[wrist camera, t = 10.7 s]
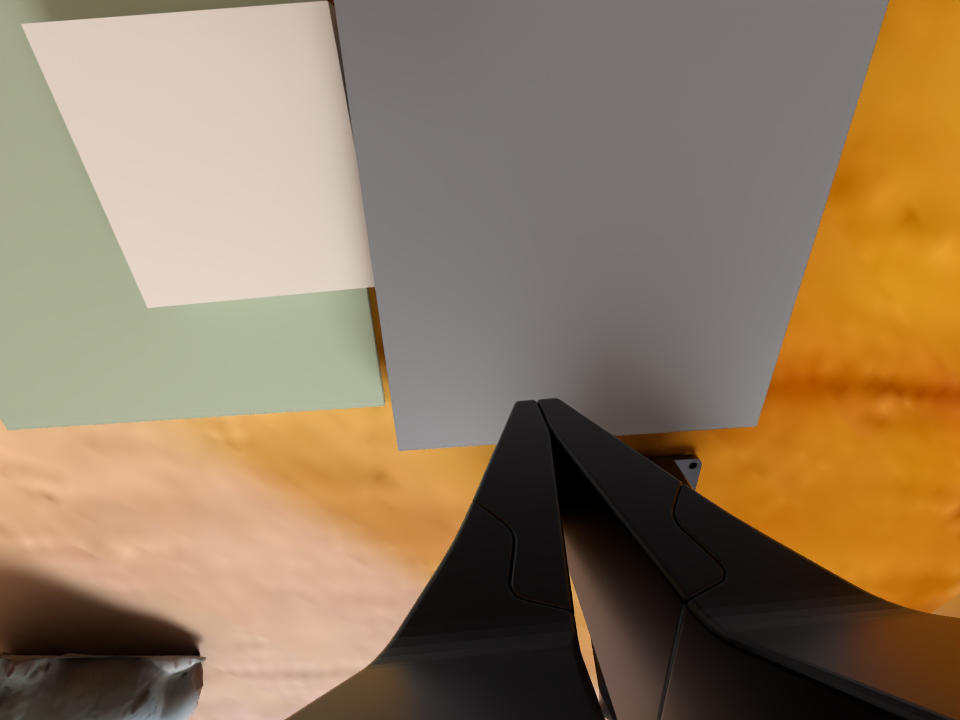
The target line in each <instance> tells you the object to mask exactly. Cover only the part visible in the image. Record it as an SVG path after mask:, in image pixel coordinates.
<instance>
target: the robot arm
mask: <svg viewBox="0 0 960 720" xmlns="http://www.w3.org/2000/svg"><path fill="white" fill-rule="evenodd" d="M691 463H692V464H691ZM701 465H702V463H701V461H700V460H699V458H698V457H697V456H696V455H693V454H689V455H675V456H661V457H647V458H646V457H644V456H643V455H641V454H640V453H638V452H637V451H635V450H634V449H632V448H631V447H629V446H628V445H626V444H625V443H624V442H622V441H621V440H619V439H618V438H616V437H615V436H613V435H612V434H610V433H609V432H607V431H606V430H604V429H603V428H601V427H600V426H599V425H597V424H596V423H594V422H593V421H591V420H590V419H588V418H587V417H585V416H584V415H582V414H581V413H579V412H578V411H576V410H575V409H573V408H572V407H571V406H569V405H568V404H566V403H565V402H563V401H562V400H560V399H558V398H548V399H540V400H538V401H537V402H536V401H535V400H523V401H517V402H515V404H514V406H513V408H512V411H511V413H510V415H509V418H508V420H507V422H506V425H505V427H504V429H503V432H502V434H501V436H500V438H499V441H498V443H497V445H496V448H495V450H494V452H493V455H492V457H491V459H490V462H489V464H488V466H487V469H486V471H485V473H484V475H483V478H482V480H481V482H480V485H479V487H478V489H477V492H476V494H475V496H474V499H473V502H472V503H471V505H470V507H469V510H468V512H467V514H466V516H465V519H464V521H463V523H462V525H461V527H460V529H459V531H458V533H457V535H456V537H455V539H454V541H453V543H452V544H451V546H450V548H449V550H448V551H447V553H446V555H445V556H444V558H443V560H442V561H441V563H440V565H439V566H438V568H437V570H436V571H435V573H434V574H433V576H432V577H431V579H430V581H429V582H428V584H427V585H426V587H425V588H424V590H423V592H422V593H421V595H420V596H419V598H418V599H417V601H416V603H415V604H414V606H413V607H412V609H411V610H410V612H409V614H408V615H407V617H406V618H405V620H404V621H403V623H402V624H401V626H400V628H399V629H398V631H397V632H396V634H395V635H394V637H393V638H392V640H391V641H390V642H389V644H388V645H387V646H386V647H385V649H384V650H383V651H382V652H381V653H380V654H379V655H378V656H377V657H376V659H375V660H374V661H372V662H371V663H370V664H369V665H368V666H367V667H366V668H364V669H363V670H361V671H360V672H358V673H357V674H355V675H354V676H352V677H350V678H349V679H347V680H346V681H344V682H343V683H341V684H340V685H338V686H336V687H335V688H333V689H332V690H330V691H329V692H327V693H326V694H324V695H322V696H321V697H319V698H318V699H316V700H315V701H313V702H311V703H310V704H308V705H307V706H305V707H304V708H302V709H301V710H299V711H297V712H296V713H294V714H293V715H291V716H290V717H288V718H287V719H285V720H605V718H606V719H608V720H960V618H955V617H948V616H941V615H935V614H930V613H925V612H921V611H917V610H913V609H909V608H906V607H903V606H900V605H897V604H894V603H892V602H889V601H886V600H884V599H882V598H879V597H877V596H875V595H872V594H870V593H868V592H867V591H865V590H863V589H861V588H859V587H857V586H855V585H853V584H851V583H850V582H848V581H846V580H844V579H843V578H841V577H839V576H837V575H836V574H834V573H832V572H830V571H829V570H827V569H825V568H823V567H822V566H820V565H818V564H816V563H814V562H813V561H811V560H809V559H807V558H806V557H804V556H802V555H800V554H799V553H797V552H795V551H793V550H792V549H790V548H788V547H786V546H784V545H783V544H781V543H779V542H777V541H776V540H774V539H772V538H770V537H769V536H767V535H765V534H763V533H762V532H760V531H758V530H757V529H755V528H753V527H752V526H750V525H748V524H746V523H745V522H743V521H741V520H740V519H738V518H736V517H735V516H733V515H731V514H730V513H728V512H727V511H725V510H723V509H722V508H720V507H719V506H717V505H716V504H714V503H713V502H711V501H710V500H708V499H706V498H705V497H703V496H702V495H700V494H699V493H697V492H696V491H695V489H696V485H697V481H698V477H699V473H700V469H701ZM569 572H570V575H571V578H572V581H573V584H574V587H575V590H576V593H577V596H578V599H579V603H580V606H581V609H582V612H583V615H584V618H585V621H586V624H587V627H588V630H589V633H590V636H591V643H592V649H593V655H594V661H595V668H596V674H597V680H598V686H599V701H598V698H597V696H596V693H595V690H594V687H593V685H592V682H591V679H590V676H589V674H588V671H587V668H586V665H585V663H584V660H583V657H582V654H581V651H580V646H579V641H578V635H577V629H576V622H575V617H574V607H573V599H572V591H571V584H570V576H569Z"/></svg>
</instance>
